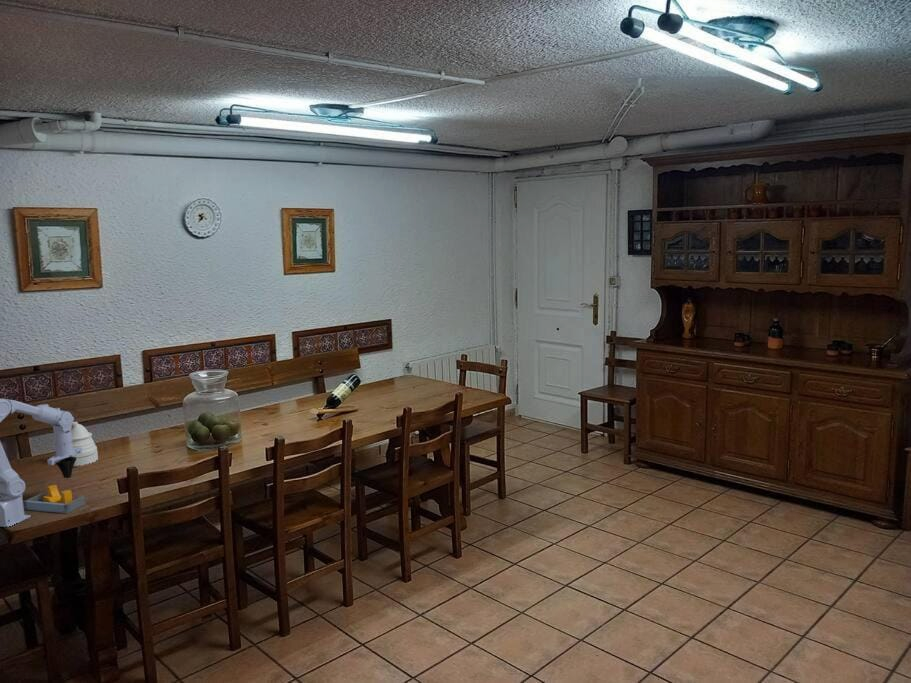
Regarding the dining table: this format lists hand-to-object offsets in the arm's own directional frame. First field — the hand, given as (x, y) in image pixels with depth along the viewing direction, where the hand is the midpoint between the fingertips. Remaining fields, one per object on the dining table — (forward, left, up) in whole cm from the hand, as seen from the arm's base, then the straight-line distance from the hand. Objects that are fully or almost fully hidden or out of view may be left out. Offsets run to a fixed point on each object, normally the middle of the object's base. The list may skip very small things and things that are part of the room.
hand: (67, 477), depth 261 cm
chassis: (-7, 0, -8) cm, 11 cm away
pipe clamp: (-7, -1, -9) cm, 11 cm away
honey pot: (+39, +28, -9) cm, 49 cm away
